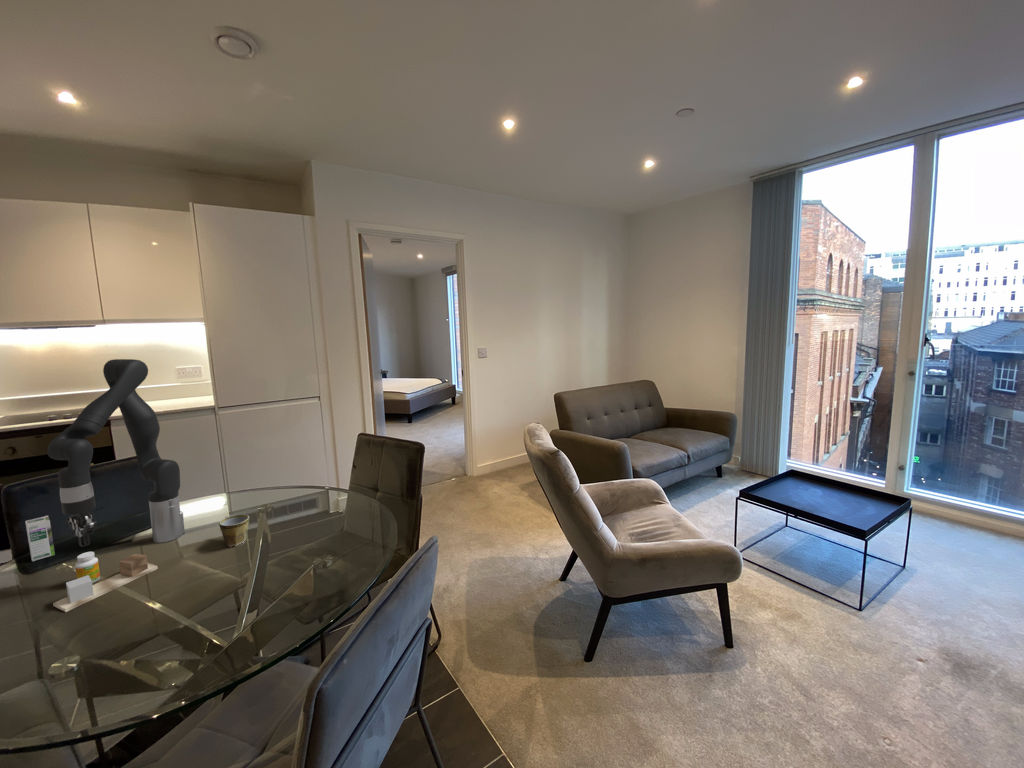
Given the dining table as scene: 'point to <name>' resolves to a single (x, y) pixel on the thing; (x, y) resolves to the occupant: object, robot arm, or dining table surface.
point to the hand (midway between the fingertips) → (85, 545)
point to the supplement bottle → (87, 566)
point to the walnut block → (133, 565)
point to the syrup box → (40, 538)
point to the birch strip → (102, 588)
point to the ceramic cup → (234, 529)
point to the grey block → (79, 589)
